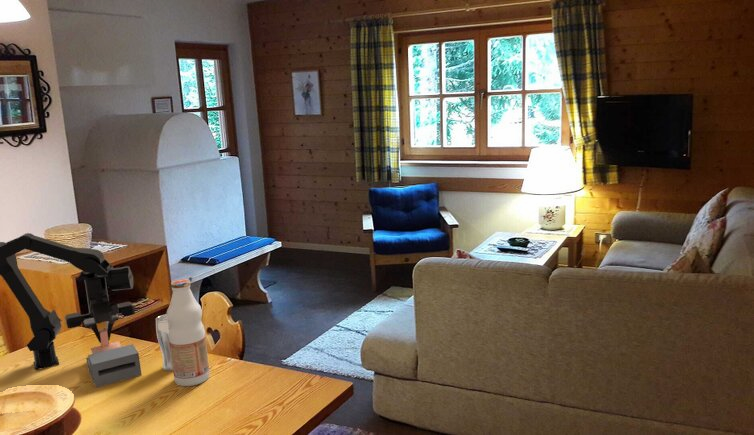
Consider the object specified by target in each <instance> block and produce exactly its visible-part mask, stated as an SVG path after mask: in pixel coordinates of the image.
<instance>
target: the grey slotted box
mask: <svg viewBox="0 0 754 435" xmlns="http://www.w3.org/2000/svg"><path fill="white" fill-rule="evenodd" d="M87 356H88V357H86V358H85V359H86V360H85V361H86V366H87V369H88V372H89V374H90V377H91V380H92V381H93V384H94V387H95V388H100V387H102V386H103V387H104V386H106V385H107V386H108V385H111V384H114V383H117V382H121V381H125V380H126V381H127V380H129V379H132V378H133V379H134V378H136V377H140V376H142V367H141V362H140V354H139V352H138V350H137V349H136V347H135V344H133V343H131V344H127V345H124V346H122V347H119V348H115V349H111V350H107V351H103V352H98V353H94V354H93V353H90V354H88V355H87Z"/></svg>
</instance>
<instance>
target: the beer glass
mask: <svg viewBox="0 0 754 435" xmlns="http://www.w3.org/2000/svg"><path fill="white" fill-rule="evenodd" d="M169 328H170V325H169V322H168V320H167V313H165V314H162V315H159V316H157V317H156V318H155V330H156V337H157V341H158V345H159V348H160V351H161V355H162V360H163V361H162V369H163V371H166V372H167V371H168V372H171V371H172V372H173V366H172V358H171V350H170V343H169Z"/></svg>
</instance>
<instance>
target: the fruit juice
mask: <svg viewBox="0 0 754 435" xmlns="http://www.w3.org/2000/svg"><path fill="white" fill-rule="evenodd" d="M170 287H171V290H172V294H171V298H170V299H171V300H170V303H169V306H168V308H167V310H166V314H167V320H168V322H169V325H170V328H169V343H170V350H171V358H172V366H173V371H172V373H173V380H174V382H175V384H176V385H177V386H180V387H192V386H196V385H200V384H202V383H204V382H206V381H207V380H208V379H209V378H210V364H209V356H208V349H207V348H208V347H207V340H206V333H205V330H206V329H205V326H204V324H203V322H202V316H203V310H202V306H201V305H200V303H198V301H197V300H196V298H195V296H194V294H193V292H192V290H191V281H190V279H188V278H187V279H186V278H185V279H182V278H181V279H177V280H174V281H171V283H170Z"/></svg>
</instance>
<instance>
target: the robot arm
mask: <svg viewBox="0 0 754 435" xmlns="http://www.w3.org/2000/svg"><path fill="white" fill-rule="evenodd" d="M25 250H27V251H31V252H33V253H38V254H41V255H43V256H48V257H51V258H55V259H58V260H61V261H64V262H66V263H69V264H71V265H72V266H73V267H75V268H76V269H78V270H81V271H80V273H79V276H78V277H76V281H84V286H85V292H86V299H87V305H88V313H86V314H80V311H77V312H73V313H68V314H67V313H66V315H65V316H64V320H65V324H66V327H67V329H74V328H77V327H80V326H81V325H82V324H83V325H84V326H85V327H86V328H90V329H91V330H92V332H93V333H94V335H95V337H96V339H97V340H98V343H99V344H101V338H100V335H99V329H98V324H102V323H105V328H106V330H107V334H108V340H109V341H110V339H111V335H112V330H113V327H114V324H115V323H116V321H119V320H120V318H119V316H118V315H119V314H120V315H121V316H123V317H128V316H132V315H135V314H136V311H135V307H134V305H133V303H132V302H130V301H126V302H121V303H118V302H116V301H115V302H110V300H109V294H108V289H109V290H111V291H112V292H113V291H122V290H124V291H125V290H132V289H133V288H134V275H133V272H132V270H131V268H130V266H129V265H125V266H123V267H115V268H114V266H113V265H112V264H111V263H110V262H109V260H108V261H107V259H105V255H104V253H103V252H102V251H101V250H99V249H96V248H90V247H89V248H88V247H73V246H69V245H67V244H63V243H59V242H57V241H54V240H50V239H48V238H43V237H40V236H37V235H34V234H33V233H29V232H27V233H23V234H22V235H20V236H19V237H16V238H13V239H11V240H9V241H6V242H4V241H0V277H1V278H2V279H3V280H4V282H5V283H6V285H7V287H8V288H9V289H10V290H11V293H12V294H13V295H14V297H15V299H16V300H17V302H18V303H19V304H20V306H21V308H22V309H23V311H24V312H25V313H26V316H28V320H29V325H30V329H31V332H32V335H33V337H32V338H31V339H30V340H29V342H28V343H27V344H26V347H27V349H28V350H29V351H30V352H32V353H33V358H34V359H33V360H34V361H33V367H34V371H37V370H42V369H45V368H50V367H55V366H58V365H60V360H59V358H58V356H57V354H56V349H55V342H54V340H55V339H56V338H57V335H58V334H59V333H61V330H62V323H61V322H62V319H61V318H60V317H59V316H58V314H57V311H56V310H55V309H52V311H49V310H47V309H46V308H45V307H44V306H43V305H42V303H41V301H40V299H39V298H38V296H37V295H36V294H35V292H34V291H33V289H32V287H31V286H30V284H29V282H28V281H27V280H26V277H25V276H24V274H23V273H22V272H21V270H20V269H19V266H18V260H17V255H16V254H18V253H20V252H21V251H25Z"/></svg>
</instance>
